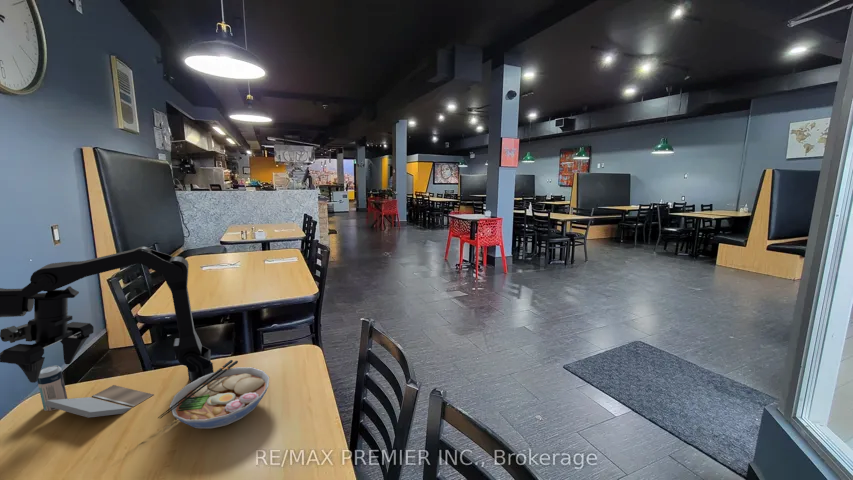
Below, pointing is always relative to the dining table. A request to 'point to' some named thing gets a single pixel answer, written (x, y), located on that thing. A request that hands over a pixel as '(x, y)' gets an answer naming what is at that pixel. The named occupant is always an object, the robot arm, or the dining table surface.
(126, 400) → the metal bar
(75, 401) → the grey tile
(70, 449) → the dining table surface
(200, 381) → the ramen bowl
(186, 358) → the robot arm
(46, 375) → the grey can
